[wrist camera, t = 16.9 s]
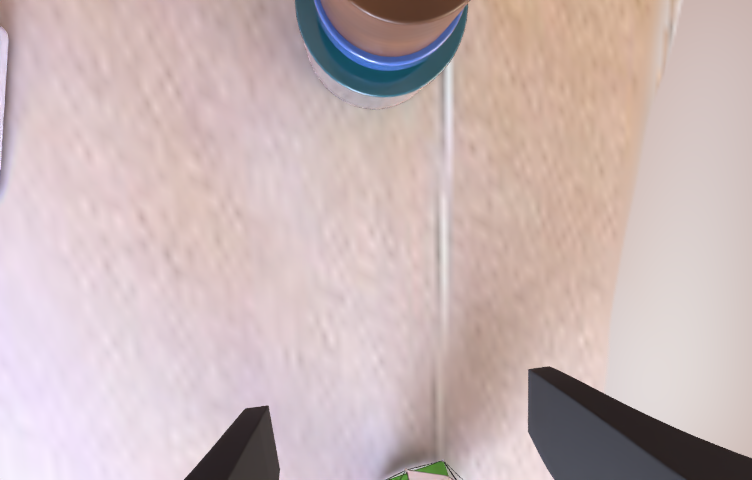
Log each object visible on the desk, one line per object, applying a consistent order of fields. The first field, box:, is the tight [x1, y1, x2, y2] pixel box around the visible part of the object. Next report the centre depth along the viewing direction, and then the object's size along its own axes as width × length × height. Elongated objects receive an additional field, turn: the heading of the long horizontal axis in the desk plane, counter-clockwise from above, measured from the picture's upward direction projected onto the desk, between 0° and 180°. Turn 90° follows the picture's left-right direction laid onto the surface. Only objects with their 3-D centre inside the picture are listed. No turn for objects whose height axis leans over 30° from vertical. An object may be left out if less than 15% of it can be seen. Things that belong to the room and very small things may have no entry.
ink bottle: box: [295, 0, 468, 109], centre depth 15 cm, size 6×6×6 cm
